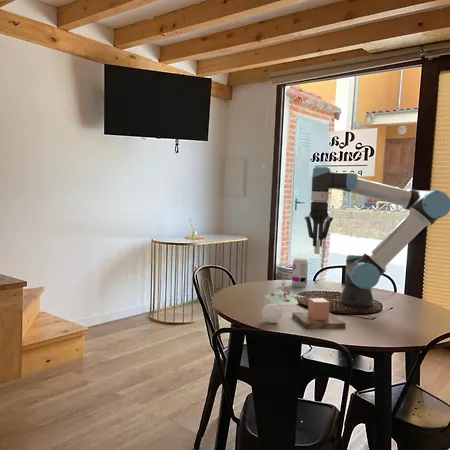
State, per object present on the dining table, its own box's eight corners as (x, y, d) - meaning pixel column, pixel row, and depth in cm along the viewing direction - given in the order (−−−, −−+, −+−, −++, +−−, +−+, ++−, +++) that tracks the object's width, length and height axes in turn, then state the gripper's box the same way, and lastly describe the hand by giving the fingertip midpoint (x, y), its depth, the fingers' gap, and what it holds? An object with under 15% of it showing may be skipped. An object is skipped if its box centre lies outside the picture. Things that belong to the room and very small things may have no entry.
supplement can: (291, 286, 244) (293, 259, 243) (292, 283, 252) (293, 257, 251) (306, 288, 243) (308, 260, 242) (306, 284, 251) (307, 258, 250)
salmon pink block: (322, 315, 181) (323, 298, 181) (328, 319, 175) (329, 302, 175) (307, 315, 180) (308, 298, 180) (313, 319, 174) (314, 302, 174)
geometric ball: (270, 330, 174) (263, 317, 170) (263, 318, 181) (256, 304, 177) (287, 321, 174) (280, 307, 170) (280, 309, 181) (273, 296, 177)
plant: (310, 308, 202) (311, 288, 202) (264, 305, 203) (265, 286, 203) (303, 295, 227) (304, 278, 227) (262, 293, 228) (263, 276, 228)
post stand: (328, 316, 187) (329, 297, 187) (345, 328, 172) (346, 307, 171) (292, 317, 184) (293, 298, 184) (306, 329, 169) (307, 308, 168)
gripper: (308, 201, 194) (306, 254, 196) (336, 202, 197) (333, 255, 199) (302, 200, 202) (300, 252, 204) (329, 201, 204) (326, 252, 206)
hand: (316, 253), depth 201 cm, fingers closed
